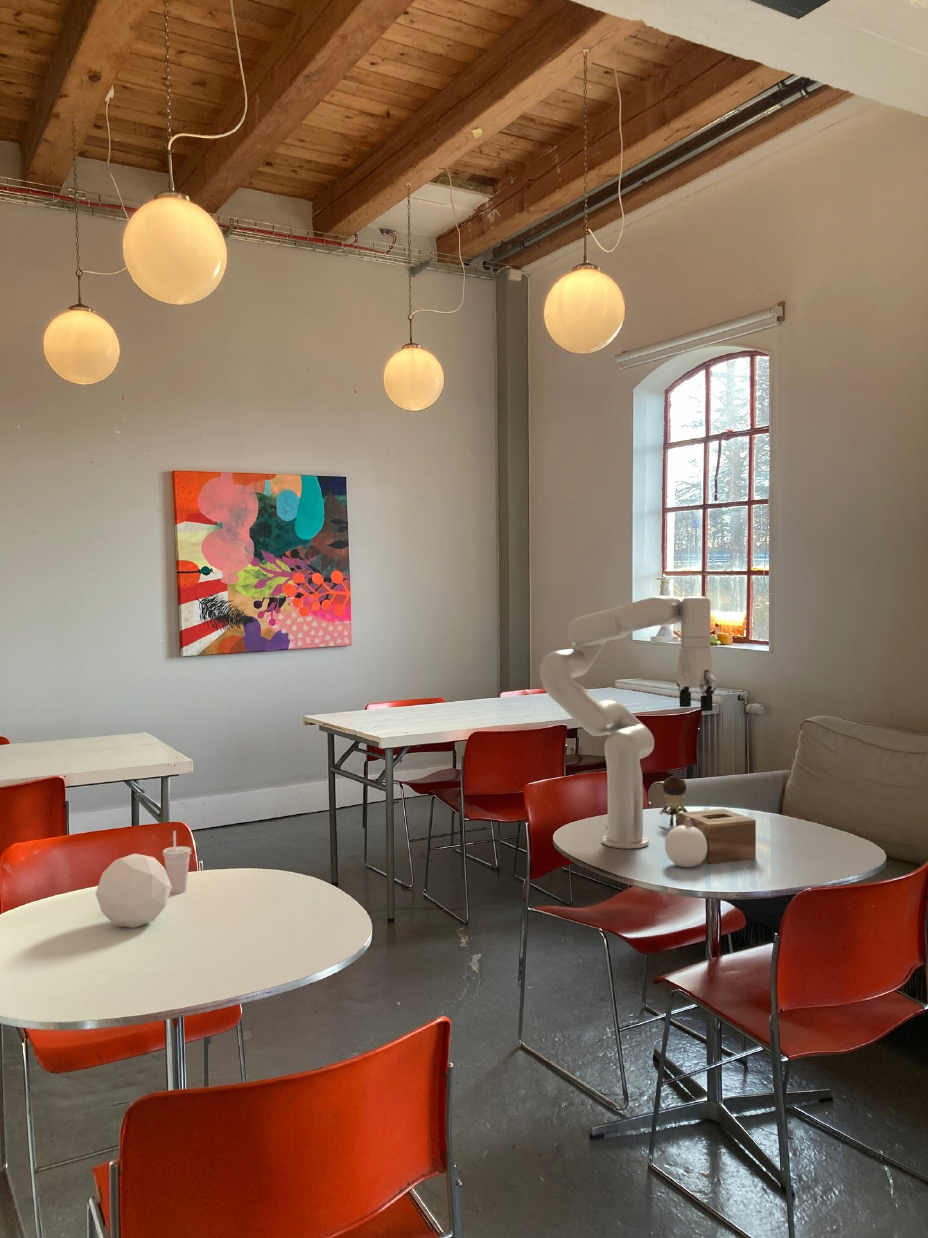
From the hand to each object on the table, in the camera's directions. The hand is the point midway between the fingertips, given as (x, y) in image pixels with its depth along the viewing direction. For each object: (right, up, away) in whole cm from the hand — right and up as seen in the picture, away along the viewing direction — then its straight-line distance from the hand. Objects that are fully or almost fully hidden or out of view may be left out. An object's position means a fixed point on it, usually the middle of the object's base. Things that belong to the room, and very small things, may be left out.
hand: (695, 708), depth 240 cm
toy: (+2, -38, +32) cm, 50 cm away
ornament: (-5, -39, -10) cm, 40 cm away
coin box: (+6, -38, 0) cm, 39 cm away
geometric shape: (-130, -40, -49) cm, 144 cm away
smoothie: (-127, -40, -28) cm, 136 cm away
